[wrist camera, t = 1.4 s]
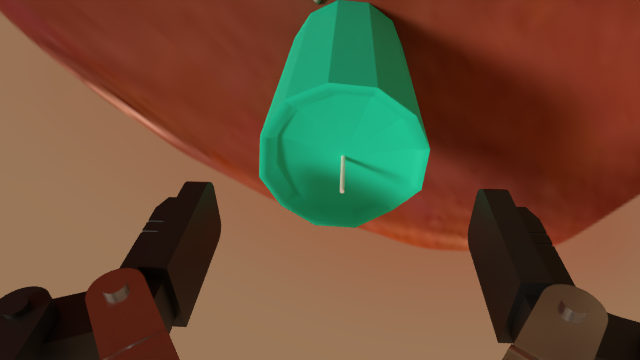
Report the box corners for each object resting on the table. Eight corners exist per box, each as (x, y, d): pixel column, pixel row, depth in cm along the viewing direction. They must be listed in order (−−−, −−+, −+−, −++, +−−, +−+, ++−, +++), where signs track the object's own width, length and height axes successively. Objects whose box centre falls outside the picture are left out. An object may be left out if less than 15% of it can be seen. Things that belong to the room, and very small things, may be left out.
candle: (304, 113, 25) (274, 263, 16) (280, 10, 22) (223, 121, 12) (406, 99, 24) (441, 249, 15) (398, -12, 21) (435, 90, 11)
